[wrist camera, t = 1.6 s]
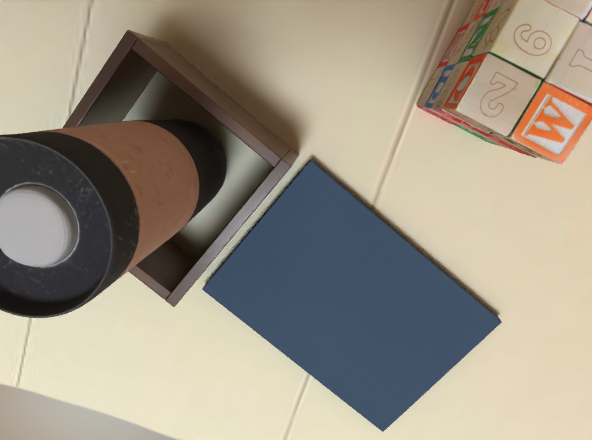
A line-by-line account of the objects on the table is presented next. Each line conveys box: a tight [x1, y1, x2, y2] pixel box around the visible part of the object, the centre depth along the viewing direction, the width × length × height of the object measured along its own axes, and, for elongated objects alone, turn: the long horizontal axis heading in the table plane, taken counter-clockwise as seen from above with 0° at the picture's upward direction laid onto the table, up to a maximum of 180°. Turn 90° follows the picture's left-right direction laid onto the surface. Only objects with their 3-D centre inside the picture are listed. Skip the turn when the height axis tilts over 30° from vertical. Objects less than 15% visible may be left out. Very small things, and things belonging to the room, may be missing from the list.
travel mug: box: [0, 120, 226, 318], centre depth 28 cm, size 8×8×20 cm
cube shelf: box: [62, 30, 299, 307], centre depth 35 cm, size 13×13×6 cm
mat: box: [203, 159, 501, 431], centre depth 39 cm, size 20×14×1 cm
